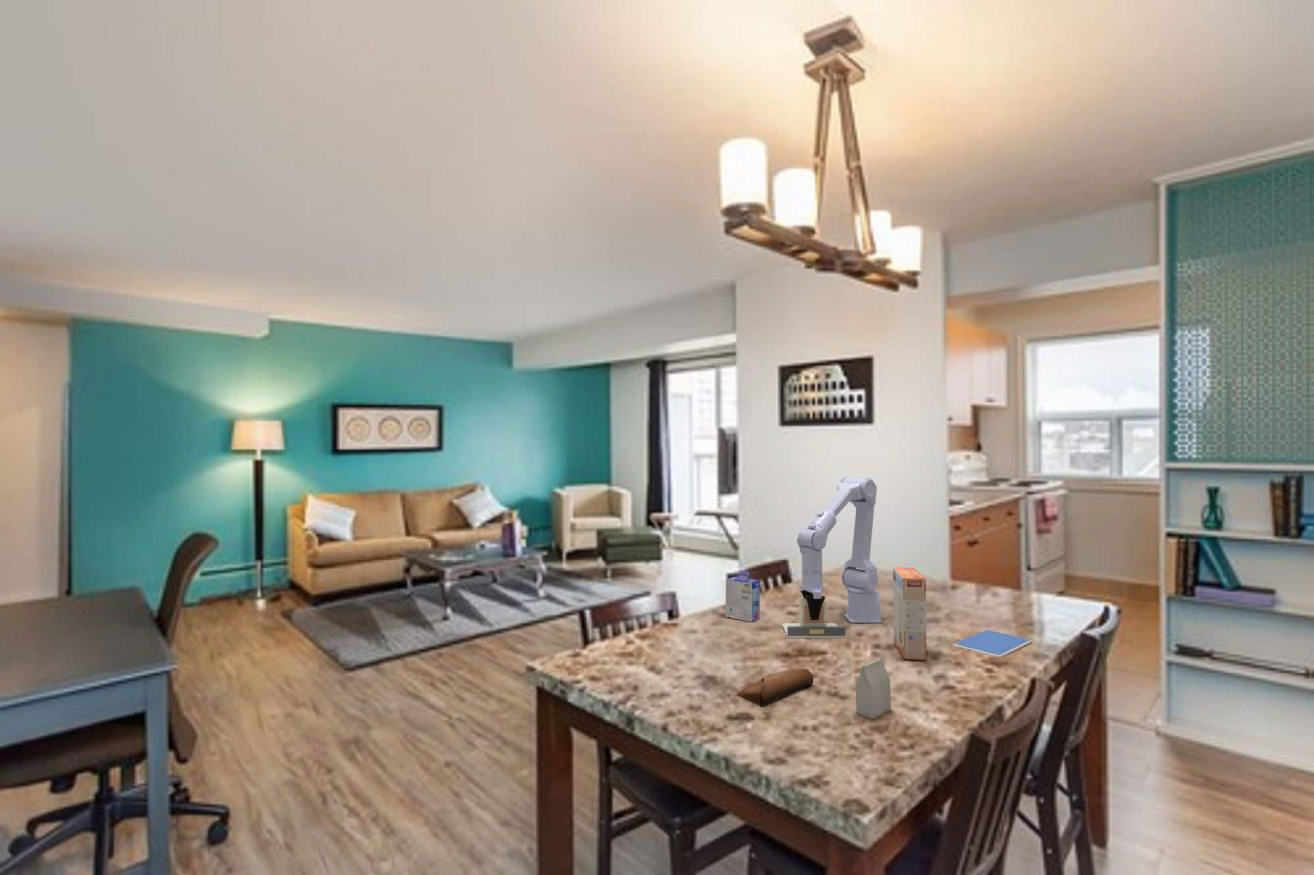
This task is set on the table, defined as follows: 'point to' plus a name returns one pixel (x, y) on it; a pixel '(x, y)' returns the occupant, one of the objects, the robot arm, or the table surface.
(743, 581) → the ink cartridge box
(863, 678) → the grey milk carton
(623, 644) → the table surface
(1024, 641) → the tablet computer
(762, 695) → the sunglasses case
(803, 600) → the carton
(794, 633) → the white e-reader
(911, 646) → the cracker box
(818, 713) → the table surface
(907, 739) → the table surface
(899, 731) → the table surface
